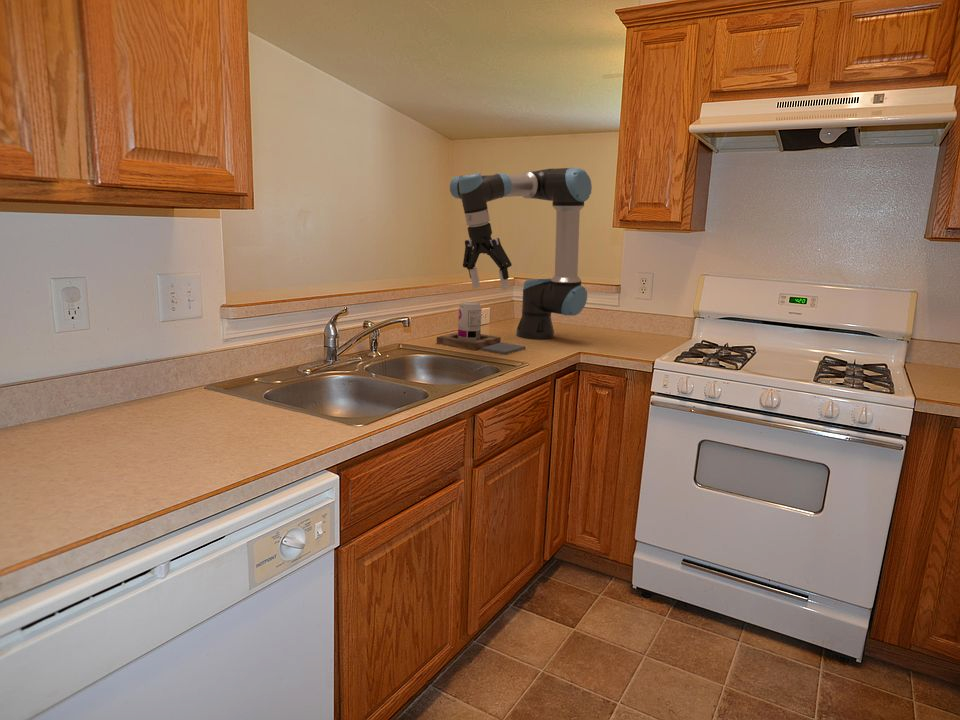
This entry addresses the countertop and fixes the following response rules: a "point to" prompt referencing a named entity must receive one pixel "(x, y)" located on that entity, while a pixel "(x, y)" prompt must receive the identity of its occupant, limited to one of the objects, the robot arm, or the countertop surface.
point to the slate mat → (503, 348)
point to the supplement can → (469, 321)
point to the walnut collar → (473, 345)
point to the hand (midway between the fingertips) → (491, 288)
